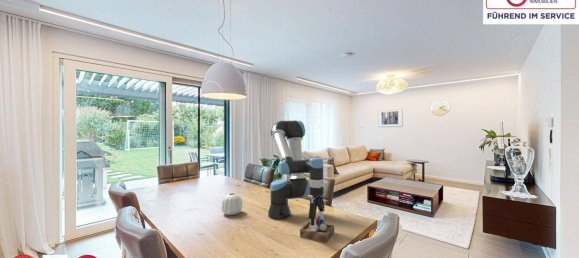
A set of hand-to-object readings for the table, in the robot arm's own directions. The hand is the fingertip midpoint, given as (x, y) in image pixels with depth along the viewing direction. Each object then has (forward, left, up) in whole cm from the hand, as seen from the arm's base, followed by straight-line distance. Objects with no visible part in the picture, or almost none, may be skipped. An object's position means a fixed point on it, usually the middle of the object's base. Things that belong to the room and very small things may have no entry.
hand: (317, 226), depth 128 cm
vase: (-65, +6, -5) cm, 66 cm away
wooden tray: (0, 0, -4) cm, 4 cm away
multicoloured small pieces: (0, 0, -2) cm, 2 cm away
